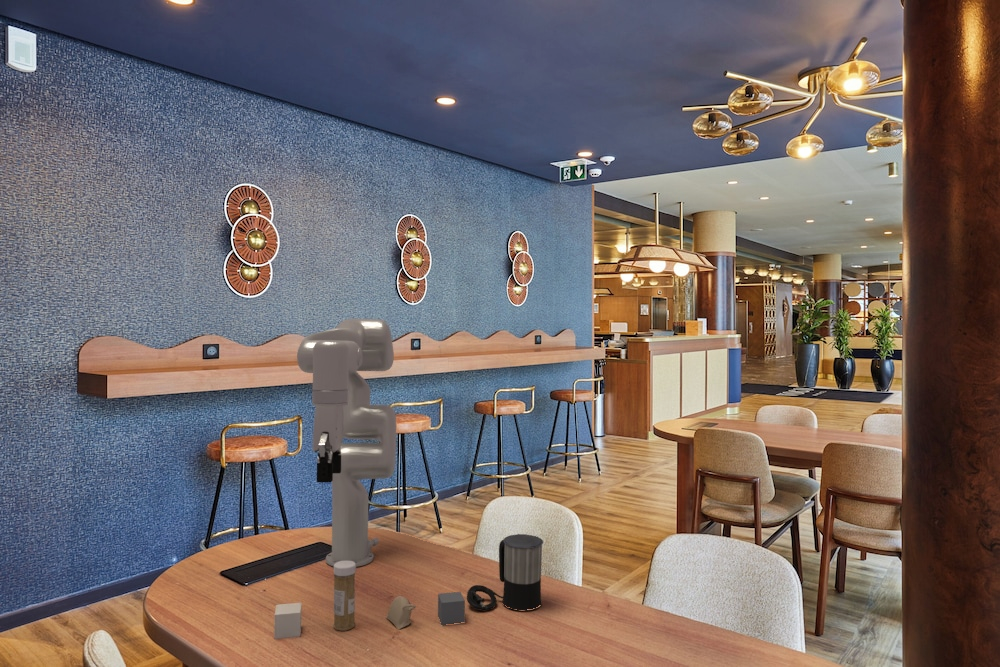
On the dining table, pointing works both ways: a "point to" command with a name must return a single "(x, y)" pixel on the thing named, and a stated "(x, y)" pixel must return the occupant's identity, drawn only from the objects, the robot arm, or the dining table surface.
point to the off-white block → (287, 620)
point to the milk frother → (515, 574)
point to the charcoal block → (451, 608)
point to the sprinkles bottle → (344, 595)
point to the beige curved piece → (400, 612)
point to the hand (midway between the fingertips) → (329, 477)
